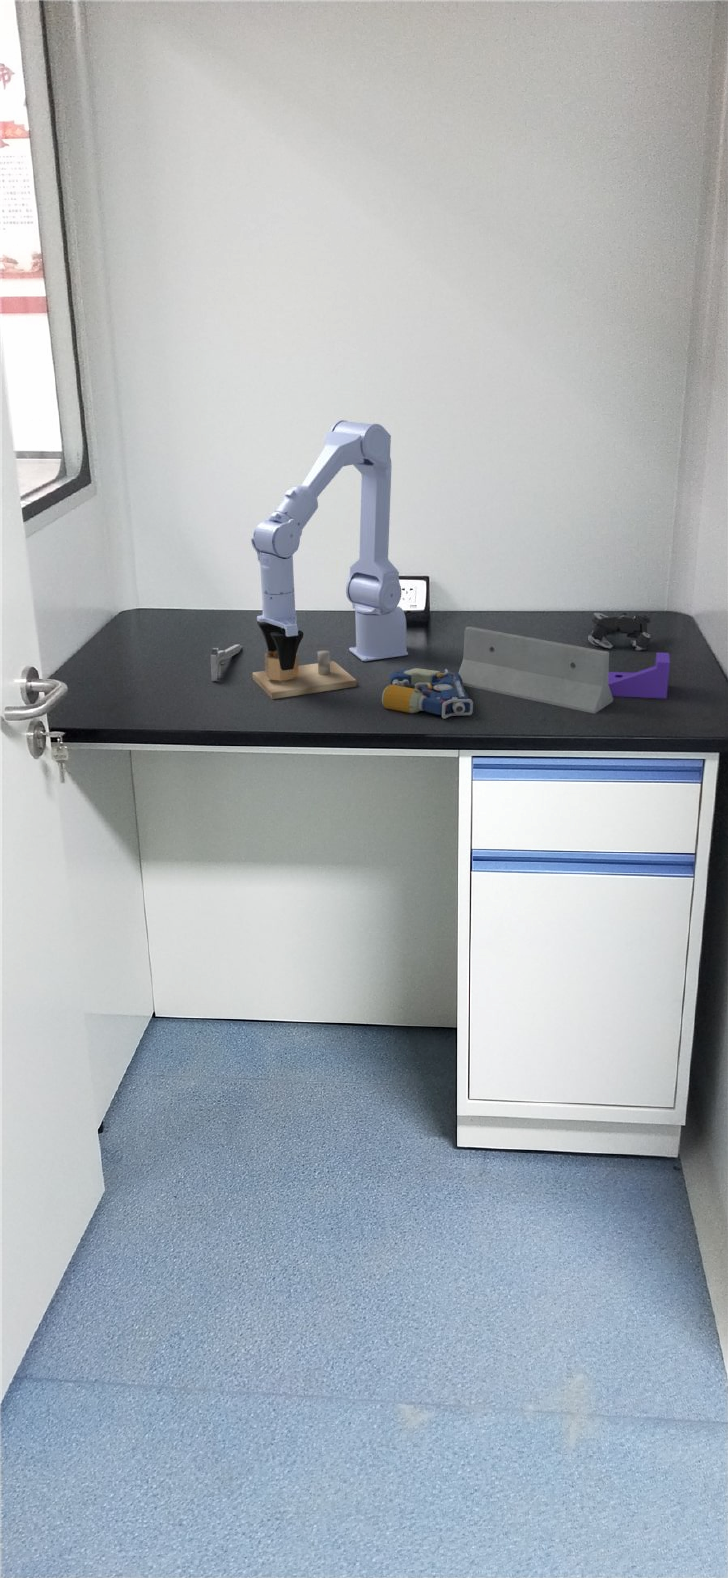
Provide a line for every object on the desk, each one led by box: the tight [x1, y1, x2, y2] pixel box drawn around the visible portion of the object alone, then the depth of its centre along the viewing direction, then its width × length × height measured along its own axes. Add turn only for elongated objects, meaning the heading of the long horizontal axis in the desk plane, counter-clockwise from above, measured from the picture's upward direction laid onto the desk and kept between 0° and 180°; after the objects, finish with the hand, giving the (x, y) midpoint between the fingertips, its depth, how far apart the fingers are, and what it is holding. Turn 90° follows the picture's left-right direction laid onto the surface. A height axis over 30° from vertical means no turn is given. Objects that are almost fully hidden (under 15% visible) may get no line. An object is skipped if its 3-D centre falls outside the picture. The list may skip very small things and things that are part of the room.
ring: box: [263, 650, 299, 681], centre depth 212 cm, size 6×6×4 cm
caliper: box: [210, 643, 243, 682], centre depth 225 cm, size 20×1×6 cm, turn 173°
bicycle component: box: [587, 612, 652, 651], centre depth 233 cm, size 12×7×15 cm
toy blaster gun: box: [381, 667, 474, 720], centre depth 205 cm, size 21×4×15 cm
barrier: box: [457, 626, 614, 714], centre depth 206 cm, size 28×7×10 cm, turn 54°
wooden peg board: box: [251, 650, 357, 700], centre depth 214 cm, size 16×12×5 cm
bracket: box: [608, 652, 671, 699], centre depth 207 cm, size 12×7×7 cm, turn 79°
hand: (282, 664), depth 212 cm, fingers open, 6 cm apart
